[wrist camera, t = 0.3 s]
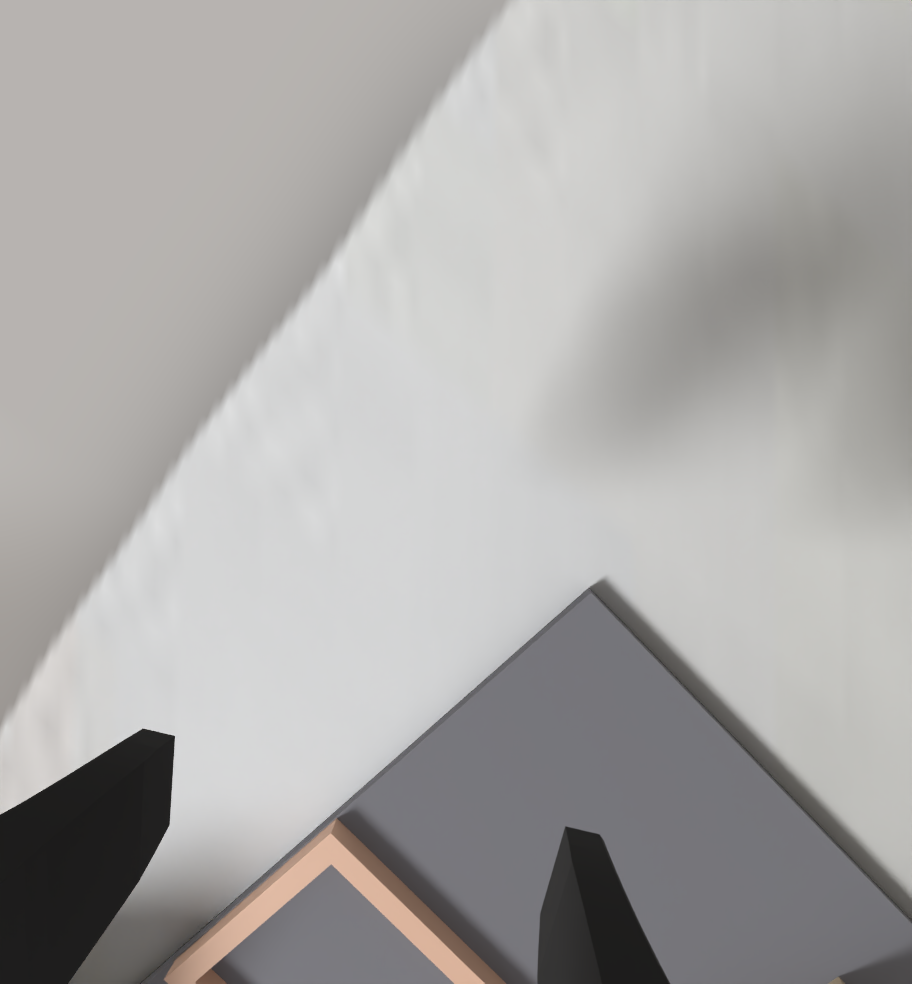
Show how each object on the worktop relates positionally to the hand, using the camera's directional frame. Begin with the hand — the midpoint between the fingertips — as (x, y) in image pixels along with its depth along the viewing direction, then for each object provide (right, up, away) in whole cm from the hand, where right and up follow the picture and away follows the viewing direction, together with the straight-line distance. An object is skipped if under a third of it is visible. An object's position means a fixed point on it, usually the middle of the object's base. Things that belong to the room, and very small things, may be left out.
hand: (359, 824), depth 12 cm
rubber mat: (+4, -12, +12) cm, 18 cm away
